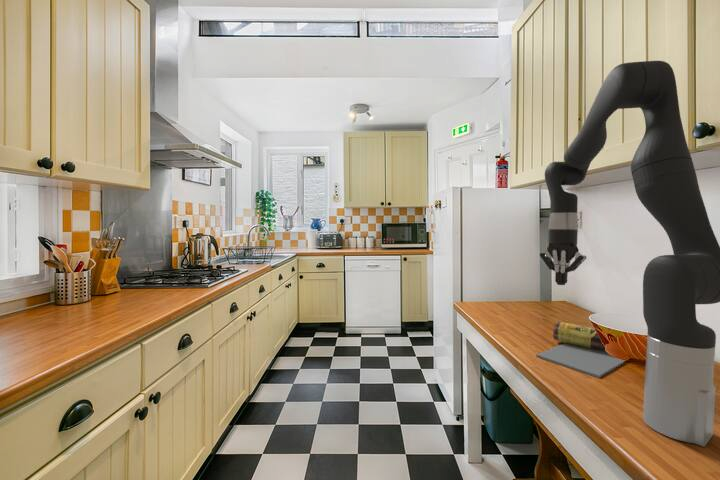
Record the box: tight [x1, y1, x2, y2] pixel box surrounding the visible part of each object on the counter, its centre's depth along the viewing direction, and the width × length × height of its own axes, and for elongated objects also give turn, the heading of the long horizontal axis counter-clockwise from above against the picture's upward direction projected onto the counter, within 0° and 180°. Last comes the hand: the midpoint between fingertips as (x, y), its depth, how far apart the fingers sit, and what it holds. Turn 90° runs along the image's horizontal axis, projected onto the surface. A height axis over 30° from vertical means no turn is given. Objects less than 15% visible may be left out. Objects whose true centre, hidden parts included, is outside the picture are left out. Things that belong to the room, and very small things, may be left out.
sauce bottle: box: [552, 321, 605, 350], centre depth 104 cm, size 7×6×20 cm
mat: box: [535, 342, 626, 379], centre depth 97 cm, size 16×22×1 cm
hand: (561, 284), depth 102 cm, fingers closed
